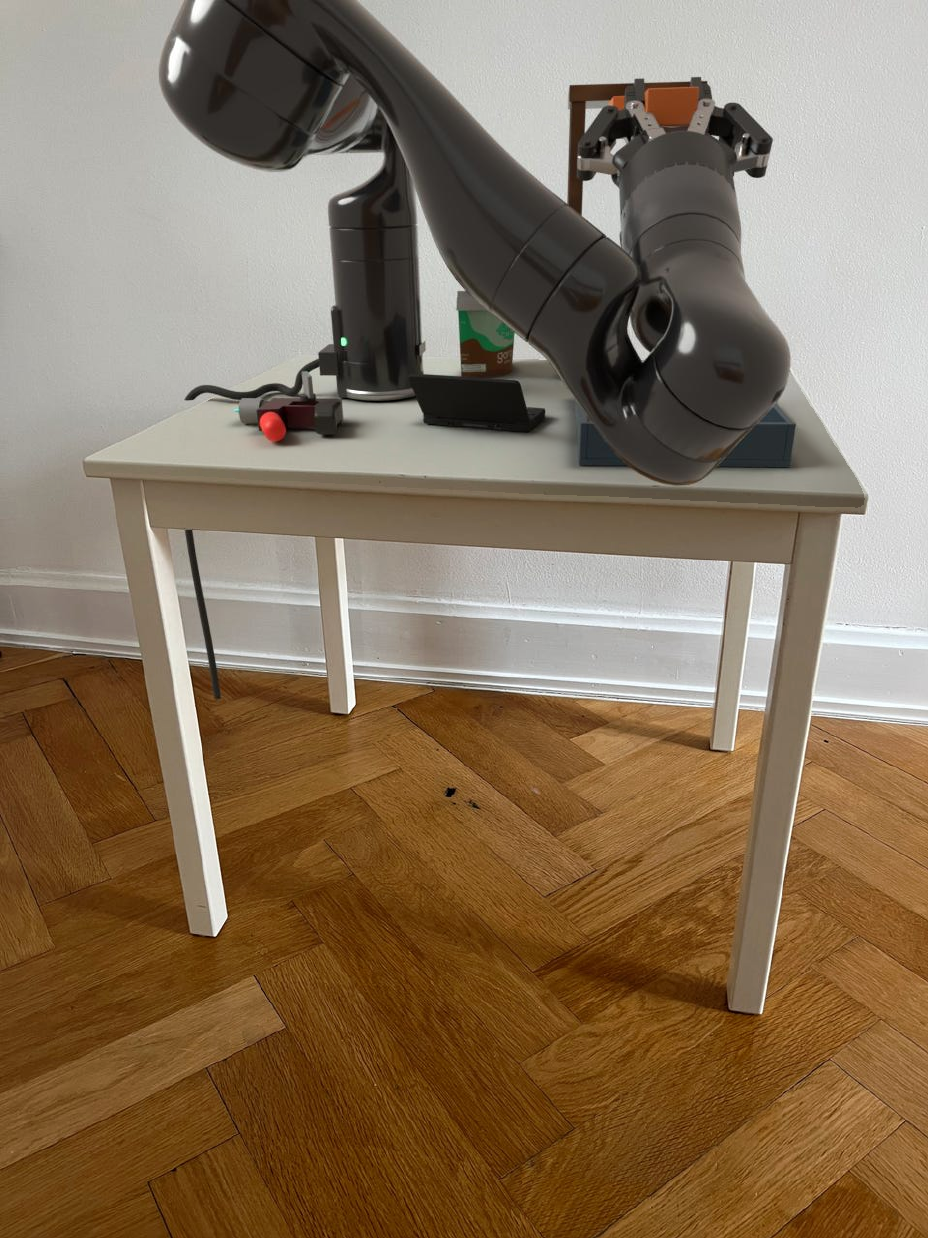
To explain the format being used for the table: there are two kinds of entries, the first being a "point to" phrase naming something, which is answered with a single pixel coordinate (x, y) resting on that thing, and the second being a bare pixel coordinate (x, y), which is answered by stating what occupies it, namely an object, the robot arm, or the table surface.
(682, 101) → the orange t-shaped block
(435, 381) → the handheld gaming console
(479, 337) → the food container
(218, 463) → the table surface
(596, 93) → the brown frame
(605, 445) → the tray
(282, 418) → the toy gun
